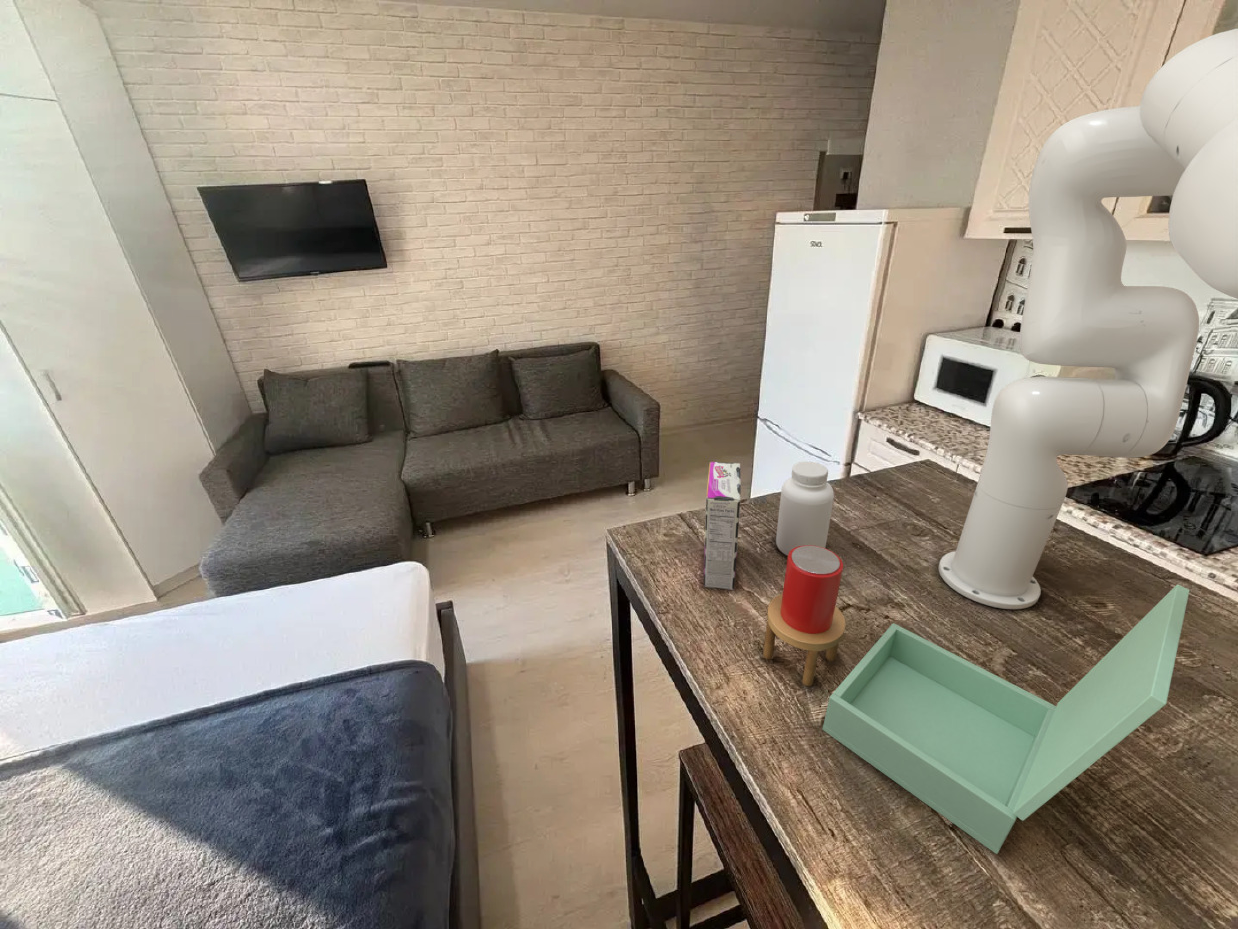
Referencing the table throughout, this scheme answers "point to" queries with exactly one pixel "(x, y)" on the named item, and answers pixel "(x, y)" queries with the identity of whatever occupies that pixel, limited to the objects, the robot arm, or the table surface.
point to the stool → (803, 638)
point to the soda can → (811, 588)
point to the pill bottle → (804, 508)
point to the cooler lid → (1107, 702)
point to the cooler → (941, 730)
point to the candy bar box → (722, 525)
